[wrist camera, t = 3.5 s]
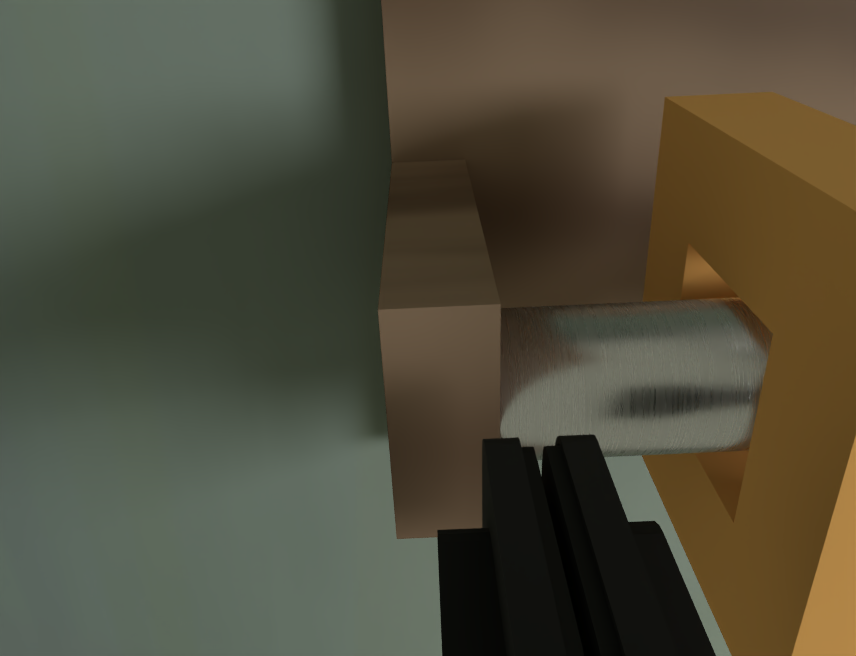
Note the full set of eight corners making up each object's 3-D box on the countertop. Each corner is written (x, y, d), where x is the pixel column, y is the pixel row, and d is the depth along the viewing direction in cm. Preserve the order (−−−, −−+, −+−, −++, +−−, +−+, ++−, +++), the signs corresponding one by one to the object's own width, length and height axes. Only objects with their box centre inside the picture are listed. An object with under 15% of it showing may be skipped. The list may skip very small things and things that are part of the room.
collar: (664, 97, 16) (910, 244, 8) (772, 91, 16) (1123, 234, 8) (628, 427, 20) (768, 736, 12) (714, 423, 20) (908, 730, 12)
